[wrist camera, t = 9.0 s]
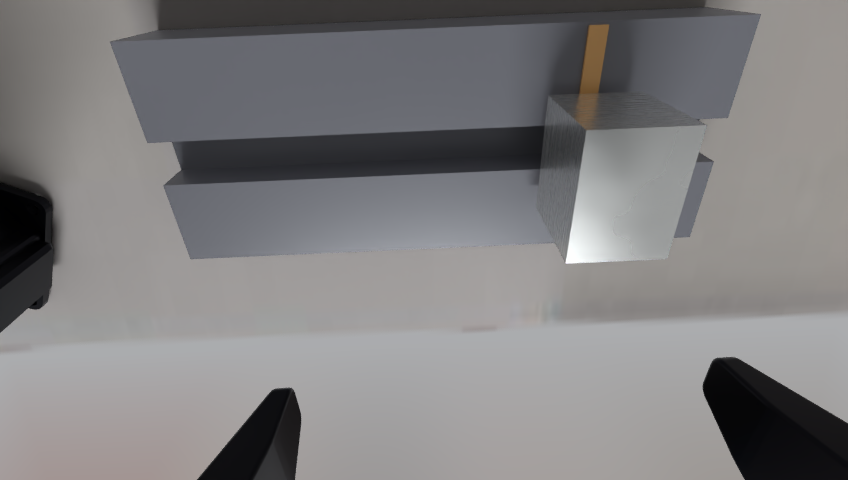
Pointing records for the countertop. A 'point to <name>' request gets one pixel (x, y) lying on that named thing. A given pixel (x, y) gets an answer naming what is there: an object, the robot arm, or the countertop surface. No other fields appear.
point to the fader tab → (615, 174)
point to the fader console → (403, 120)
